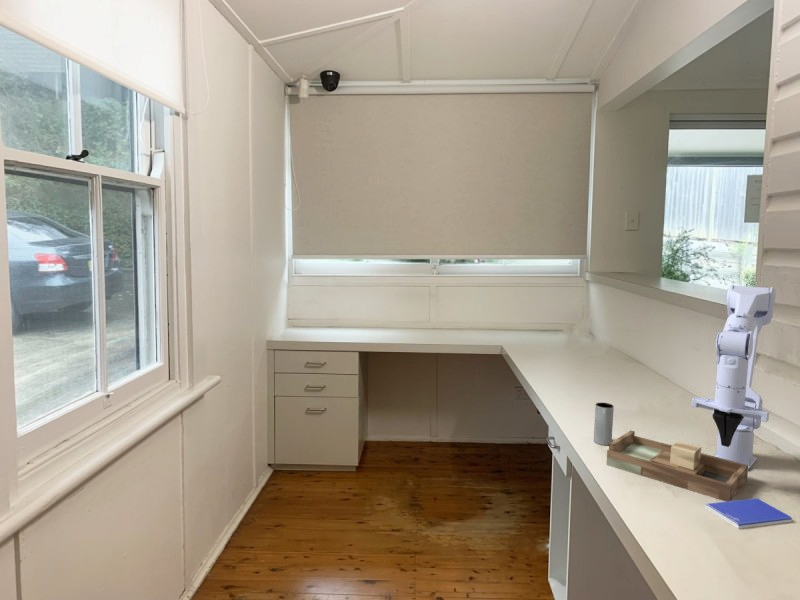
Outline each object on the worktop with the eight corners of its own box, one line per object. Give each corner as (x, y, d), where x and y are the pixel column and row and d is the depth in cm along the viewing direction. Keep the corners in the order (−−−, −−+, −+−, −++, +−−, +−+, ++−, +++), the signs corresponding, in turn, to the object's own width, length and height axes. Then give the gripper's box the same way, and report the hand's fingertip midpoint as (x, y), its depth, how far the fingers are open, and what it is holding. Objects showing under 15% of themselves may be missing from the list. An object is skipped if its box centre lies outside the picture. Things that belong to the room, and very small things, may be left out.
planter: (593, 444, 143) (595, 406, 141) (593, 438, 147) (595, 401, 146) (611, 446, 141) (613, 408, 140) (611, 440, 145) (613, 403, 144)
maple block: (677, 457, 129) (678, 441, 129) (700, 463, 126) (701, 447, 125) (669, 463, 126) (671, 446, 125) (693, 469, 122) (694, 452, 122)
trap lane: (631, 448, 140) (632, 429, 139) (747, 480, 122) (748, 458, 121) (606, 464, 129) (607, 444, 129) (729, 502, 111) (731, 479, 111)
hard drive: (738, 523, 101) (792, 517, 104) (705, 502, 109) (755, 497, 112) (738, 531, 101) (791, 524, 104) (704, 510, 109) (754, 504, 112)
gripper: (689, 382, 120) (684, 440, 122) (766, 395, 110) (760, 459, 112) (698, 376, 125) (694, 433, 127) (773, 389, 115) (767, 450, 117)
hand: (725, 445), depth 119 cm, fingers closed
